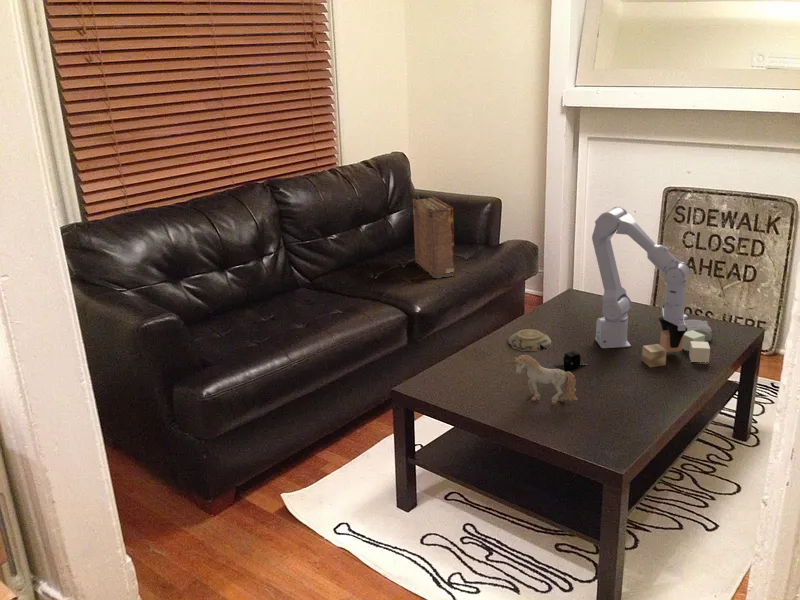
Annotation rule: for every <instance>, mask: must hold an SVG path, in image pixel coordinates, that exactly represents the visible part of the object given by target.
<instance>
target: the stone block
mask: <svg viewBox="0 0 800 600" xmlns="http://www.w3.org/2000/svg"><path fill="white" fill-rule="evenodd" d="M684 323H685V324H686V327H687V331H686V332H688V331H691V330H693V331H696V332H698V333H701V334H703V335H705V342H711V341H712V337H713V330H712V328H711V326H709V323H708V320H700V319H684Z"/></svg>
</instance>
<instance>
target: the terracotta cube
mask: <svg viewBox="0 0 800 600" xmlns="http://www.w3.org/2000/svg"><path fill="white" fill-rule="evenodd" d="M682 344H683V337H682V339H681V341H680V344H679V346H678V348H671V346H670V335H669V331H668V330H662V329H661V330H660V339H659V345H660V346H662V347H663V348H664V349H666V350H667V352H666V353H668V352H682V351H683V349H682Z"/></svg>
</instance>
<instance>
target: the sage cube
mask: <svg viewBox="0 0 800 600" xmlns="http://www.w3.org/2000/svg"><path fill="white" fill-rule="evenodd" d="M690 341H698V342H706V341H705V335H703V334H701V333H698V332H696V331H693V330H691V331H688V332H685V334H684V335H683V344H682V350H683V349H684V351H686V350H687V351H686V352H688V351H689V350H690Z"/></svg>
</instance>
